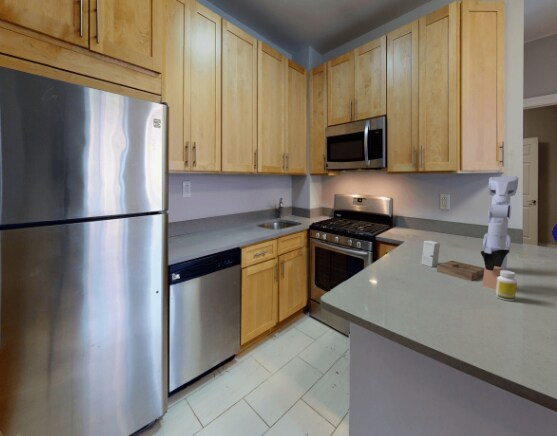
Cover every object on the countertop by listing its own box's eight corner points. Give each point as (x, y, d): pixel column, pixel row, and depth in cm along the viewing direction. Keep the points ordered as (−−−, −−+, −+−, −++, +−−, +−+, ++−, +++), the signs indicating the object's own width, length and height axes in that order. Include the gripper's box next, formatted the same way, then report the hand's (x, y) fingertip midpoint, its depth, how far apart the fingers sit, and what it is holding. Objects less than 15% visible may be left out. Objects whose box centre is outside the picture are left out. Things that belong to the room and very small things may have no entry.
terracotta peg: (487, 283, 106) (489, 264, 105) (500, 287, 103) (502, 267, 102) (482, 285, 104) (484, 266, 103) (495, 289, 100) (498, 269, 99)
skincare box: (421, 263, 133) (422, 240, 131) (427, 262, 134) (428, 240, 133) (432, 267, 127) (434, 243, 125) (438, 266, 129) (440, 242, 127)
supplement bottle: (518, 302, 90) (522, 275, 88) (500, 300, 91) (503, 274, 90) (508, 295, 95) (511, 270, 94) (491, 294, 96) (494, 269, 95)
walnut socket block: (451, 266, 128) (452, 260, 128) (485, 274, 117) (486, 268, 116) (436, 271, 121) (437, 265, 121) (471, 280, 109) (471, 274, 109)
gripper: (502, 238, 94) (498, 274, 95) (517, 234, 101) (513, 267, 103) (479, 235, 99) (476, 269, 101) (494, 231, 107) (491, 263, 109)
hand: (493, 268), depth 102 cm, fingers open, 7 cm apart
